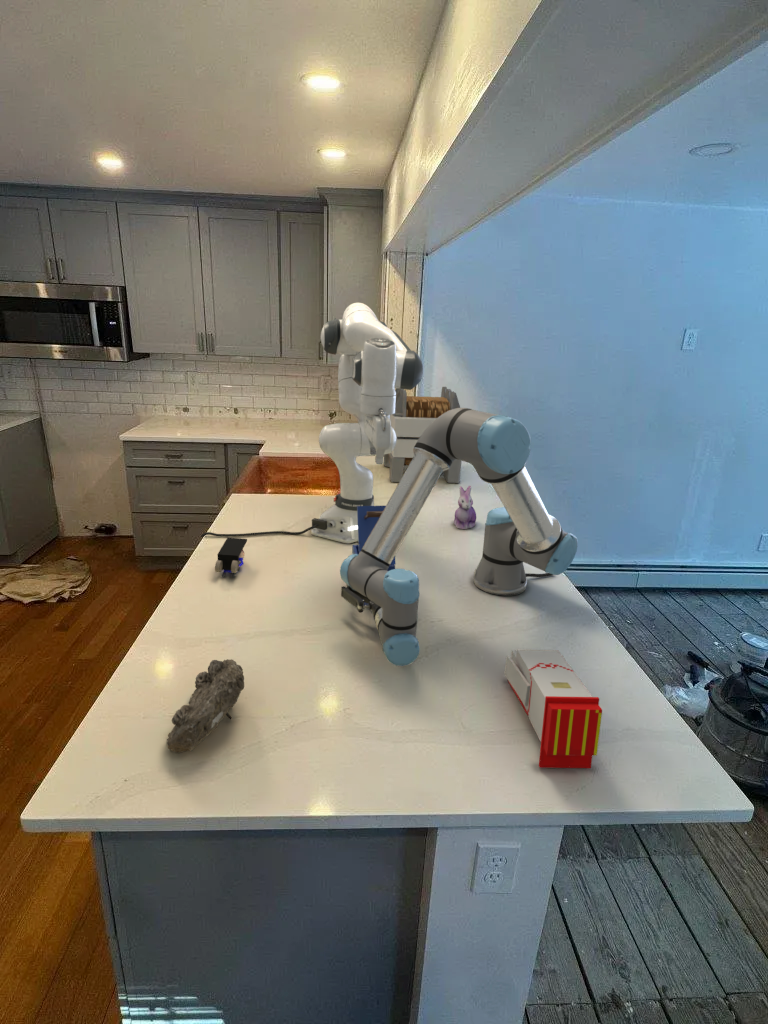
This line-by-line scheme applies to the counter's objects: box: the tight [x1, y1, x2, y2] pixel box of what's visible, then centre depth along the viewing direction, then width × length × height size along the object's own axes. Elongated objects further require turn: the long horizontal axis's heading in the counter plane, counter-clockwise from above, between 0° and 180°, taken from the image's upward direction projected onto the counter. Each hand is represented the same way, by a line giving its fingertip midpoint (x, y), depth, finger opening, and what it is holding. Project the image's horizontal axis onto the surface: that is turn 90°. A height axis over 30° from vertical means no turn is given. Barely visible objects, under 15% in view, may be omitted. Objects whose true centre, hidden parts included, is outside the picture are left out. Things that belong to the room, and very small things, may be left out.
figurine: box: [453, 485, 477, 530], centre depth 208 cm, size 9×10×15 cm
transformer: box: [382, 386, 463, 484], centre depth 268 cm, size 34×33×41 cm
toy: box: [504, 648, 603, 769], centre depth 111 cm, size 12×13×30 cm
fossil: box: [166, 658, 245, 754], centre depth 106 cm, size 22×10×15 cm
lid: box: [357, 505, 397, 566], centre depth 147 cm, size 16×10×8 cm
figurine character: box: [214, 537, 248, 578], centre depth 166 cm, size 7×8×15 cm
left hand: (375, 458), depth 148 cm, fingers open, 8 cm apart
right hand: (375, 576), depth 152 cm, fingers open, 13 cm apart
